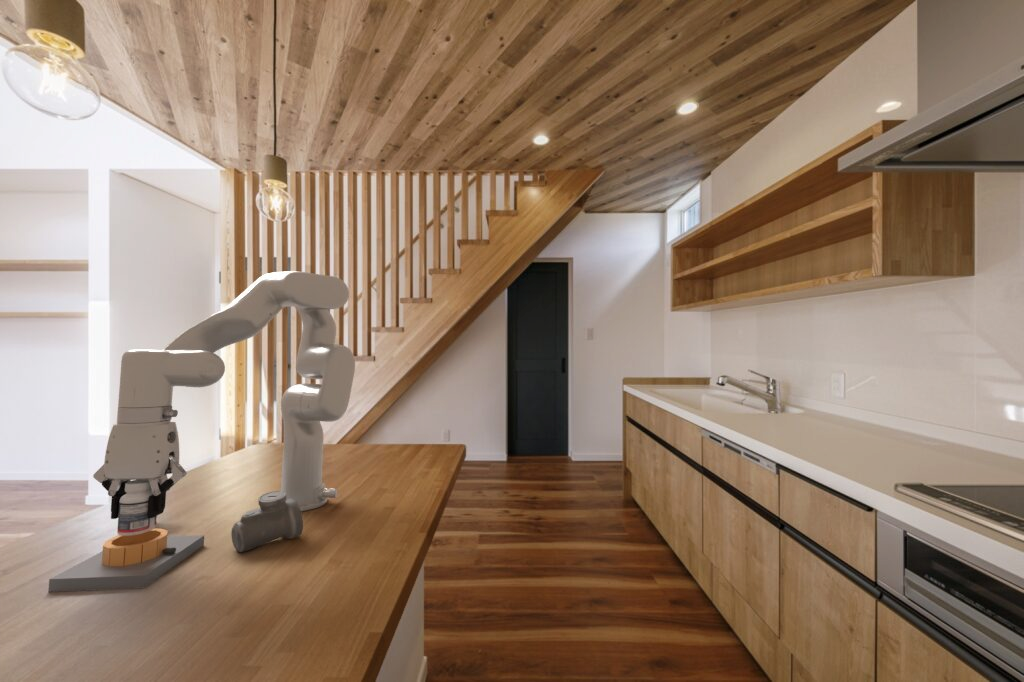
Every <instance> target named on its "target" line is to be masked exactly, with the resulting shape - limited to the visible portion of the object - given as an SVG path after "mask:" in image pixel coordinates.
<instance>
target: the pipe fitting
mask: <svg viewBox="0 0 1024 682" xmlns="http://www.w3.org/2000/svg"><path fill="white" fill-rule="evenodd" d="M257 501H258V505H259V507H258V508H255V509H251V510H248V511H245V513H243V514H242V515H241V517H240V520H238V521H236V522H235V523H234V524H233V526H232V528H231V531H230V532H231V534H230V535H231V541H232V545H233V547H234V548H235V550H236V551H237V552H238V553H245V552H247V551H249V550H251V549H255V548H258V547H259V546H262V545H265V544H267V543H270V542H271V541H275V540H278V539H280V538H284V539H288V540H290V539H295V538H297V537H300V536H301V535H302V534H303V530H304V519H303V513H302V512H303V511H301V509H300V506H299V504H298V503H297V501H296V500H295V499H293V498H290V499H287V500H286V493H285V492H284V491H281V490H274V491H273V490H272V491H269V492H266V493H263V494H262V495H261V496H260V497H258V500H257Z"/></svg>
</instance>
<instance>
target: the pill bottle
mask: <svg viewBox="0 0 1024 682" xmlns="http://www.w3.org/2000/svg"><path fill="white" fill-rule="evenodd" d="M125 492H127V493H126V494H125V495H123V496H122V497H121V498H120V501H119V515H118V518H117V519H118V520H117V536H118V535H121V536H132V535H138V534H142V533H145V532H148V531H150V530H152V529H156V527H157V517H158V515H157V516H155V517H153V518H148V517H147V514H148V500H149V496H151V495H153V493H152V489H151V486H150V482H149V479H147V480H131V481H129V482H127V483H126V484H125Z"/></svg>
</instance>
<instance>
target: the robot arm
mask: <svg viewBox="0 0 1024 682" xmlns="http://www.w3.org/2000/svg"><path fill="white" fill-rule="evenodd" d="M349 297H350V290H349V288H348V286H347V284H346V283H345V281H343V279H341V278H339V277H337V276H333V275H326V274H318V273H312V272H305V271H297V270H290V271H289V270H288V271H277V272H276V271H275V272H270V273H269V272H268V273H265V274H263V275H261V276H259V277H258V278H257V279H256V280H255V281H253V282H252V283H251V284H250V285H249V286H248V287H247V288H246V289H244V290H243V291H242V292H241V293H240V294H239V295H238V296H236V298H234V299H233V300H232V301H231V302H230V303H229V304H227V306H225V307H224V308H223V309H221V310H220V311H218V312H215V313H213V314H212V315H209V316H208V317H206V318H205V319H204V320H201V321H200V322H198V323H196V324H193V326H192V325H191V327H189V328H188V329H186V330H184V331H183V332H182V333H180V334H179V335H178V336H176V337H175V338H174V339H173V340H171V342H169V343H168V344H167V345H166V346H165V347H163V348H162V349H143V348H142V349H139V348H138V349H129V350H126V351H125V352H123V354H122V356H121V361H120V362H121V363H120V375H119V377H120V378H119V391H118V404H117V416H116V423H114V424H113V426H112V427H111V431H110V434H109V437H108V440H107V444H106V449H105V454H104V455H105V456H104V462H103V464H102V466H101V467H100V468H99V469H97V470H96V471H95V472H94V474H93V476H92V478H93V479H95V480H96V481H97V482H99V484H101V486H102V487H103V488H104V489H105V490H106V492H107V496H109V497H111V503H110V504H111V505H110V519H111V520H116V519H118V515H119V501H120V498H121V497H122V496H123V495H125V494H126V493H127V492H125V484H126V483H127V482H129V481H133V480H147V479H149V482H150V486H151V489H152V493H153V495H151V496H149V500H148V514H147V517H148V518H153V517H155V516H157V517H158V516H159V515H161V514H163V513H164V510H165V508H166V499H167V492H169V491H170V489H171V488H172V487H173V486H174V485H176V484H177V483H178V481H180V480H181V479H182V478H184V477H185V476H187V471H186V469H185V468H184V467H183V466H182V465H181V464H180V442H179V441H180V440H179V432H178V427H177V424H176V421H171V420H172V418H176V417H177V416H178V414H179V413H178V412H179V411H178V409H173V405H172V404H173V392H174V391H173V390H174V387H187V388H205V387H209V386H212V385H214V384H217V382H219V381H220V380H221V379H222V378H223V376H224V374H225V371H226V365H225V362H224V360H223V359H222V358H221V357H220V356H219V355H218V354H216V352H217V351H219V350H221V349H223V348H225V347H228V346H230V345H234V344H236V343H240V342H243V341H245V340H246V341H247V340H248V339H250V338H253V337H254V336H257V335H258V334H259V333H260V332H261V331H262V330H263V329H264V328H265V327H266V326H268V324H269V323H270V322H271V321H272V320H273V319H274V318H275V317H276V316H277V315H278V314H279V313H280V312H281V311H282V310H284V308H286V307H287V308H288V307H291V308H292V307H294V308H295V309H296V311H297V312H298V314H299V316H300V318H301V321H302V332H301V337H300V342H299V346H298V349H297V350H298V351H297V355H296V361H295V370H296V373H297V374H298V375H299V376H300V377H302V378H305V379H309V380H310V379H312V380H322V381H321V384H319V383H299V384H298V383H297V384H294V385H292V386H290V387H288V388H287V389H286V390H285V391H284V393H283V394H282V396H281V400H280V411H281V416H282V423H283V441H282V442H283V447H282V463H281V464H282V465H281V466H282V468H281V486H280V488H281V489H280V491H284V492H285V493H286V500H287V499H290V498H293V499H295V500H296V501H297V503H298V504H299V506H300V509H301V512H303V511H309V510H313V509H317V508H319V507H321V506H323V505H325V504H326V503H327V501H328V498H329V499H330V498H331V499H334V498H336V499H337V497H338V494H339V493H338V490H337V489H336V488H327V487H326V483H325V482H324V483H323V482H322V480H323V477H322V476H323V461H324V460H323V455H324V453H323V452H324V439H325V438H324V430H323V426H322V424H321V422H326V423H328V422H329V423H330V422H331V423H332V422H336V421H339V420H340V419H341V418H343V416H344V415H345V414H346V411H347V410H348V408H349V402H350V398H351V392H352V387H353V384H354V383H353V382H354V377H355V371H356V370H355V369H356V360H355V356H354V354H353V352H352V350H351V349H350V348H349V347H347V346H346V345H343V344H338V343H337V344H335V343H336V335H337V324H336V321H335V319H334V318H333V315H332V314H331V312H330V310H336V309H340V308H342V307H344V306H345V305H346V304H347V302H348V300H349V299H350V298H349ZM171 474H172V475H171ZM168 475H171V476H170V477H169V478H168ZM166 491H167V492H166Z"/></svg>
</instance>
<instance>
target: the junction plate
mask: <svg viewBox="0 0 1024 682" xmlns="http://www.w3.org/2000/svg"><path fill="white" fill-rule="evenodd" d="M204 545H205V535H204V534H203V535H173V536H171V535H170V536H168V529H163V528H160V527H158V528H156V527H155V528H154V529H152V530H150V531H148V532H145V533H142V534H138V535H132V536H121V535H118V534H117V535H116V536H113V537H112V538H110V539H107V540H106V541H104V544H103V545H102V551H100V552H99V553H96V554H95V555H93V556H91V557H89V558H87V559H85V560H83V561H81V562H79V563H77V564H75V565H73V566H72V567H70V568H67V569H66V570H64V571H62V572H60V573H58V574H56V575H54V576H53V577H51V578H49V579H48V590H47V591H48V593H49V592H50V593H54V592H55V591H56V592H58V591H59V592H77V591H98V590H99V591H102V590H103V591H105V590H106V591H107V590H122V589H123V590H127V589H128V590H129V589H145V588H146V587H147V586H149V585H150V584H151V583H153V582H154V581H156V580H157V579H159V578H160V577H161V576H163V575H164V574H165V573H167V572H169V571H170V570H171V569H172V568H174V567H175V566H177V565H178V564H180V563H181V562H182V561H184V560H185V559H186V558H188V557H190V556H191V555H192V554H194V553H196V551H198V550H200V549H201V548H202V547H203V546H204ZM51 591H52V592H51ZM56 592H55V593H56ZM59 592H58V593H59Z"/></svg>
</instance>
